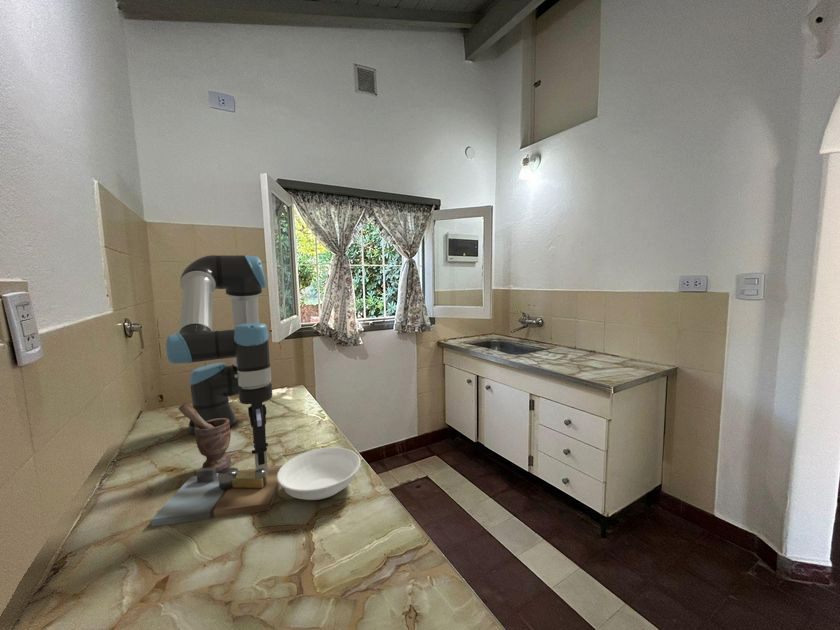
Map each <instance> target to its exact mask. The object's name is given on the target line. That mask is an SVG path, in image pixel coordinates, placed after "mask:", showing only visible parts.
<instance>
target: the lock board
mask: <svg viewBox="0 0 840 630" xmlns="http://www.w3.org/2000/svg"><path fill="white" fill-rule="evenodd" d="M283 465H284V464H283ZM283 465H276V466H268V474H267V476H268V482H267V484H266V485H265V486H264V487H263V488H236V487H232V488H230V489H220V488H219V481H218V474H219V473H220V472H216V467H211V468H202V467H200V468H199V469H198V470H196V475H191V476H190V477H189V478H188V479H187V480H186V481H185V482H184V483H183V484H182V486H181V487H180V488H178V490H177V491H176V492H175V493H174V495H172V496H171V497H170V498H169V499H168V501H167V502H166V503H164V505H162V507H161V508H160V509H159V511H158V512H157V513H155V515H154V516H153V517H152V518H151V520H150V521H151V527H157V526H158V527H159V526H164V525H165V526H166V525H174V524H179V523H186V522H195V521H200V520H207V519H216V518H221V517H229V516H236V515H244V514H252V513H258V512H265V511H270V509H271V507H272V505H273V502H274V500H275V497H276V496H277V493H278V490H279V488H280V487H281V485H280V484H279V483H278V481H277V474H278V471H279V470H280V468H281V467H282V466H283ZM255 471H256V468H251V469H241V470H238V472H249V473H255Z"/></svg>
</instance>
